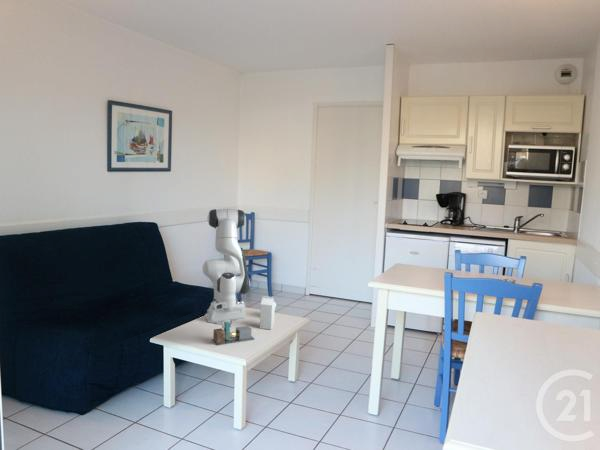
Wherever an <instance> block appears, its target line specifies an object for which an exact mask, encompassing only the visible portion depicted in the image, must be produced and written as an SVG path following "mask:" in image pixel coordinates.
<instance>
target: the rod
mask: <svg viewBox="0 0 600 450" xmlns="http://www.w3.org/2000/svg"><path fill="white" fill-rule="evenodd" d="M224 324H225V325H226V328H223V330H224V331H225V340H230V338H234V337H239V331H237V332H236V331H231V327H230V323H229V322H228V321H226V322H224Z"/></svg>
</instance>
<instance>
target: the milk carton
mask: <svg viewBox="0 0 600 450" xmlns="http://www.w3.org/2000/svg"><path fill="white" fill-rule="evenodd" d="M275 303H276V301H275V297H274V296H267V295H263V296H262V297H261V301H260V306H259V307H260V310H259V311H260V313H259V314H260V315H259V329H263V330H272V329H273V328H274V327H275V315H276V314H275V313H276V312H275V311H276V308H275Z"/></svg>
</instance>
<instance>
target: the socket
mask: <svg viewBox="0 0 600 450" xmlns="http://www.w3.org/2000/svg"><path fill="white" fill-rule="evenodd" d="M212 333H213V340H214V341H215V342H216V343H224V342H225V331H224V328H222V327H221V328H214V329H213V332H212Z"/></svg>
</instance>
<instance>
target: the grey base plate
mask: <svg viewBox="0 0 600 450" xmlns="http://www.w3.org/2000/svg"><path fill="white" fill-rule="evenodd" d="M237 331H239V337H234V338H230V340H225V342H224V343H216V342H215V341H214V340H213V339H211V341H212V343H214V344H215V345H216V346H220V345H221V346H222V345H226V344H227V345H228V344H235V343H241V342H248V341H254V340H255V338H254V337H253V335H252V328H250V327H249V326H248V325H244V326H237V327H235V332H237Z"/></svg>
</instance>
